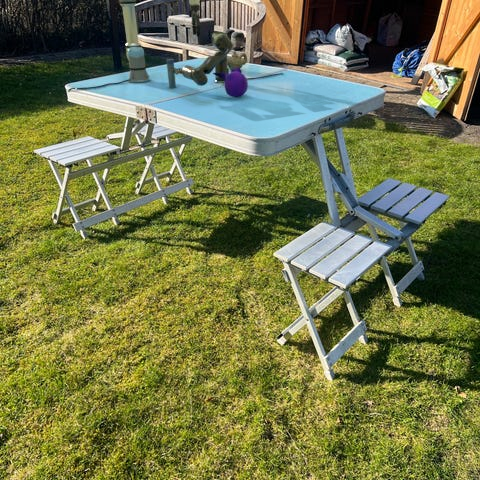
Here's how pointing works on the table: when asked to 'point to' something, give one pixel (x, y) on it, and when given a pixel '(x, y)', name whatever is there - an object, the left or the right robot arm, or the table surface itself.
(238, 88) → the toy
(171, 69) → the bottle
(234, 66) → the teapot
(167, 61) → the lid
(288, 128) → the table surface
